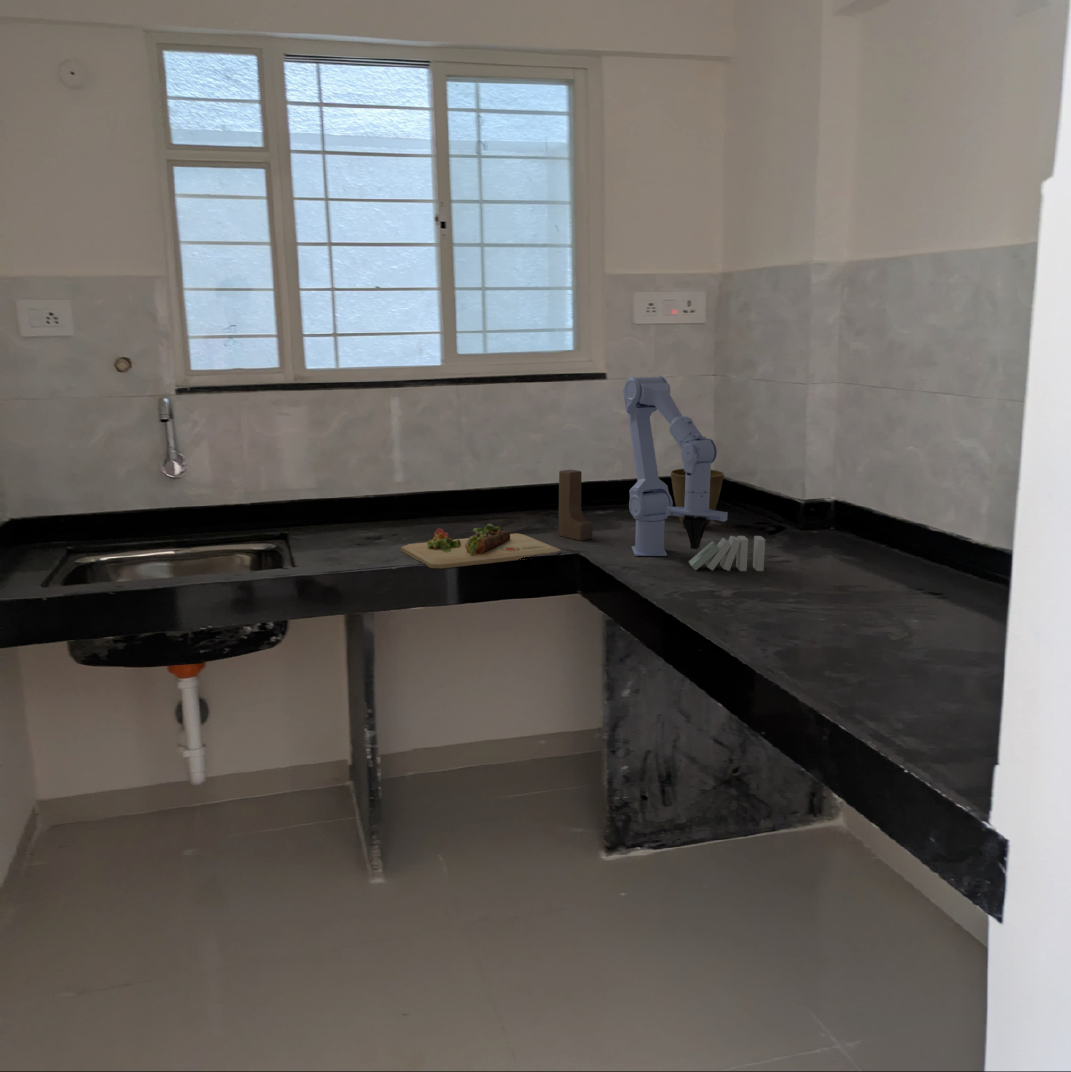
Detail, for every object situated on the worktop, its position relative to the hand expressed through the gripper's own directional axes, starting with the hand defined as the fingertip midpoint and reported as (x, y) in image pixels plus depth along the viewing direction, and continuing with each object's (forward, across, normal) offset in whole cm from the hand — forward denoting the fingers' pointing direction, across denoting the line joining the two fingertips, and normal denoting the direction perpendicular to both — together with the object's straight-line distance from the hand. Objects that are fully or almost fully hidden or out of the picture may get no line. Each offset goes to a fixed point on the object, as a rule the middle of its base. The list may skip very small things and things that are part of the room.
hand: (695, 548), depth 232 cm
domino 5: (+5, -13, -8) cm, 16 cm away
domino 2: (+4, -3, -2) cm, 6 cm away
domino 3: (+5, -6, -4) cm, 9 cm away
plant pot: (+5, +19, -47) cm, 51 cm away
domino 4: (+5, -10, -6) cm, 12 cm away
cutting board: (+6, +53, +13) cm, 54 cm away
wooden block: (+5, +41, -16) cm, 44 cm away
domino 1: (+4, 0, 0) cm, 4 cm away
